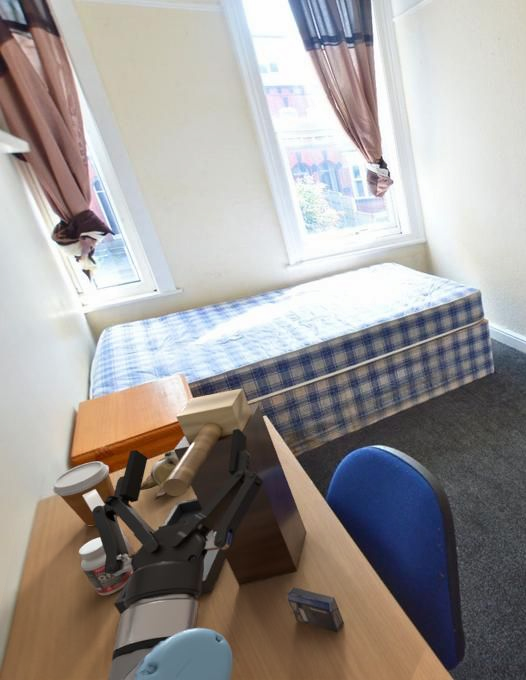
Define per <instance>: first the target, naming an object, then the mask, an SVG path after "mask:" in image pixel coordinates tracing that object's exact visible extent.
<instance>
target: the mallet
mask: <svg viewBox="0 0 526 680" xmlns="http://www.w3.org/2000/svg"><path fill="white" fill-rule="evenodd" d="M250 407H251V406H250V404H249V402H248V398H247V397H246V394H245V391H244V388H238V389H237V388H236V389H233V390H227V391H222V392H217V393H216V392H215V393H212V394H207V395H201V396H197V397H191V398H190V399H189V400H188V402H187V403H186V404H185V405H184V406H183V408H182V409H181V410H180V411H179V413H178V414H177V415H176V419H177V423H178V424H179V426H180V429H181V430H182V433H183V435H184V436H185V437H186V439H187V441H188V443H192V444H191V445H190V447H189V448H188V449H187V451H186V452H185V454H184V455H183V457H182V458H181V460H180V461H179V462H178V464H177V465H176V467H175V468H174V470H173V471H172V473H171V474H170V476H169V477H168V478H167V480H166V481H165V483H164V485H163V489H164V491H165V492H166V493H167V494H168V495H169V496H172V497H180V496H183V495H185V494H186V493H187V491H188V490H189V488H190V487H191V483H192V482H193V480H194V478H195V477H196V475H197V473H198V472H199V470H200V468H201V467H202V465H203V464H204V462H205V460H206V459H207V457H208V455H209V454H210V452H211V450H212V449H213V447H214V445H215V444H216V442H217V440H218V439H219V437H221V436H225V435H230V434H233V430H235V429H239V430H240V431H241V432H242V431H243V429H244V427H245V426H246V424H247V422H248V420H249V418H250V416H251V414H252V412H251V409H250Z"/></svg>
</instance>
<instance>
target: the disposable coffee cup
mask: <svg viewBox="0 0 526 680" xmlns="http://www.w3.org/2000/svg"><path fill="white" fill-rule="evenodd" d="M52 486H53V489H52V492H53V493H54V494H55V495H57V496H59V497H60V498H62V499H63V501H64V502H65V503H66V504H67V505H68V507H70V509H72V511H73V512H74V513H75V514H76V515H77V516H78V517H79V518H80V519H81V520H82V522H83V523H85V525H86V524H87V525H96V523H95V520H94V517H93V514H92V511H91V509H90V507H89V506H88V504H87V502H86V501H85V499H84V497H83V496H82V495H84V494H86V493H88V492H90V491H92V490H94V489H95V490H96V491H97V493H98V494H99V496H100V497H101V499H102V501H103V502H104V504H105V500H106V498H107V497H109V496H112V495H113V496H114V492H115V488H114V485H113V482H112V479H111V476H110V467H109V465H107V464H105V463H104V462H103V461H98V460H97V461H90V462H86V463H83V464H80V465H76V466H74V467H73V468H71V469H69V470H67V471H65V472H64V473H62V474H60V475H59V476H58V477H57V478H56V479H55V480H54V481H53V483H52ZM105 505H106V504H105ZM116 516H118V515H117V514H116ZM87 525H86V526H87Z"/></svg>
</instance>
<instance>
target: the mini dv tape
mask: <svg viewBox="0 0 526 680" xmlns="http://www.w3.org/2000/svg"><path fill="white" fill-rule="evenodd" d="M286 598H287V601H288V603H289V606H290V608H291V610H292V613H293V615H294V617H295V620H296V621H297V622H299V623H303V624H307V625H309V626H314V627H317V628H321V629H325V630H328V631H333V632H336V633H339V631H340V630H341V628H342V627H343V626H344V625H345V624H344V623H345V621H344V619H343V617H342V614H341V612H340V608H339V606H338V604H337V600H336V598H335V597H334V596H331V595H326V594H323V593H318V592H313V591H310V590H305V589H301V588H298V587H291V589H290V591H288V593H287V594H286Z"/></svg>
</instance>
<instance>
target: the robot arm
mask: <svg viewBox="0 0 526 680" xmlns="http://www.w3.org/2000/svg"><path fill="white" fill-rule="evenodd" d="M246 438H247V437H246V436H245V435H244V434H243V433H242V432H241V431H240V430H239V429H235V430H233V436H232V444H231V453H230V462H229V470H228V472H229V473H231V474H232V475H233V476H232V477H231V478H230V479H229V480H228V481H227V482H226V483H225V485H224V486H223V487H222V488H221V489H220V490H219V491H218V493H217V494H216V495H215V496H214V497H213V498H212V499H211V500H210V502H209V503H208V504H207V505H206V506H205V507H204V508H203V510H202V511H201V512H200V513H198V514H196V515H194V516H193V517H192V519H191V520H190V521H189V522H186V521H181V522H178V523H176V524H173V525H164V526H163V525H160V526H158V528H157V529H155V530H154V528H152V526H151V525H150V524H149V523H148V522H147V521H146V520H145V519H144V518H143V517H142V516H141V515H140V513H139V512H138V511H137V510H136V509H135V508H134V507H133V505H131V504H130V503H135V502H138V501H139V497H140V493H141V490H140V489H141V485H142V483H143V480H144V475H145V471H146V466H147V462H148V456H146V455H144V454H143V453H141V452H140V451H139V450H137V449H133V450H130V451H129V455H128V458H127V463H126V466H125V470H124V474H123V475H122V476H119V478H118V479H117V481H116V485H115V488H114V490H115V492H114V496H113V495H112V496H109V497H107V498H106V500H105V504H106V505H104V506H97V507H95V508H94V509H93V511H92V514H93V517H94V520H95V523H96V526H95V527H96V529H97V532H98V535H99V538H100V539H101V542H102V545H103V548H104V551H105V554H106V561H105V568H104V572H105V573H107V574H110V575H114V576H117V577H123V576H125V575H126V574H127V572H128V571H130V570H131V571H132V574H131V575H130V577H129V581H128V586H127V591H126V595H125V600H124V605H125V606H126V608H127V610H125V611H124V612H123V613H122V614H120V616H119V622H118V627H117V630H116V631H117V632H116V636H115V642H114V645H113V646H114V647H113V652H112V657H111V664H110V669H109V673H108V678H107V680H230V679H231V676H232V673H233V666H234V665H233V664H234V659H233V651H232V649H231V646H230V644H229V642H228V641H227V639H226V638H225V637H224V636H223V635H222V634H221V633H219V632H218V631H216V630H214V629H210V628H205V627H197V623H198V618H199V609H200V603H199V601H198V600H197V599H198V598H199V597H200V596H202V595H201V589H202V581H203V574H204V558H205V556H206V554H207V552H208V551H210V550H218V549H222V550H224V551H229V550H230V549H231V548H232V546H233V542H234V537H235V533H236V531H237V529H238V527H239V525H240V524H241V522H242V520H243V518H244V516H245V514H246V513H247V511H248V509H249V507H250V505H251V504H252V502H253V500H254V498H255V496H256V495H257V493H258V491H259V489H260V487H261V486H262V484H263V479H262V478H261V477H260V476H259V475H258V474H257V473H256V472H250V460H251V456H250V454H249V453H248V452H247V451H246V450H245V449H246ZM129 502H130V503H129ZM228 507H229V508H228ZM227 508H228V510H227V512H226V513H225V515H224V517H223V519H222V520H221V522H220V524H219V526H218V529H217V532H214V533H213V534H212V538H211V539H210V540H207V539H206V536H207V535H208V534H209V533H210V531H211V530H212V529H213V528H214V526H215V522H216V521H217V520H218V519H219V518H220V516H221V515H222V514H223V513H224V512H225V511H226V509H227ZM116 514H117V515H116ZM117 517H118V518H120V520H121V521H122V522H123V523H124V524H125V525H126V526H127V528H128V529H129V530H130V531H131V532H132V533H133V536H134V537H135V538H136V539H137V540H138V542H139V543H140V544H141V546H140V548H138V550H137V551H136V552H135V554H133V555H132V556H130V555H129V553H128V550H127V547H126V544H125V541H124V538H123V535H122V533H121V530H122V529H121V526H120V524H119V521H118V518H117ZM200 524H202V527H201V528H200V529H199V528H198V526H199V525H200ZM120 529H121V530H120Z"/></svg>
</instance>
